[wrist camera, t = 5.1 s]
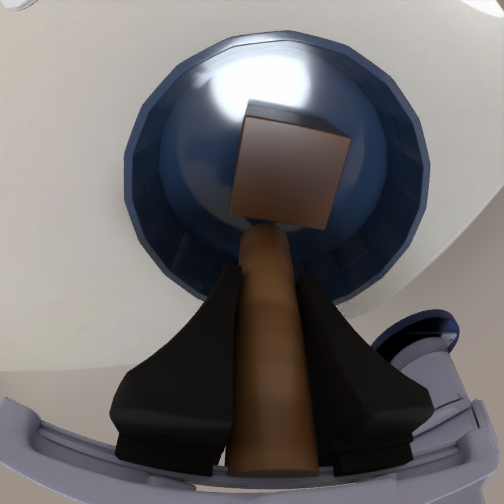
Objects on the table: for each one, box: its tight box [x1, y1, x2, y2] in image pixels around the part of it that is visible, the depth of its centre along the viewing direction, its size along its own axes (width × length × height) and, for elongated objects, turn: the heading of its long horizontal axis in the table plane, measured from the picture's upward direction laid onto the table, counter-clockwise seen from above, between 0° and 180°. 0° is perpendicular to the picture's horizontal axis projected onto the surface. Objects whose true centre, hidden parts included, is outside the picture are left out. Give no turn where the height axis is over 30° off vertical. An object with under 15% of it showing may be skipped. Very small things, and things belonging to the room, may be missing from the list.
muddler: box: [225, 223, 319, 478], centre depth 10 cm, size 2×2×11 cm
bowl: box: [124, 30, 430, 305], centre depth 13 cm, size 13×13×4 cm
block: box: [228, 105, 352, 230], centre depth 12 cm, size 4×4×4 cm
